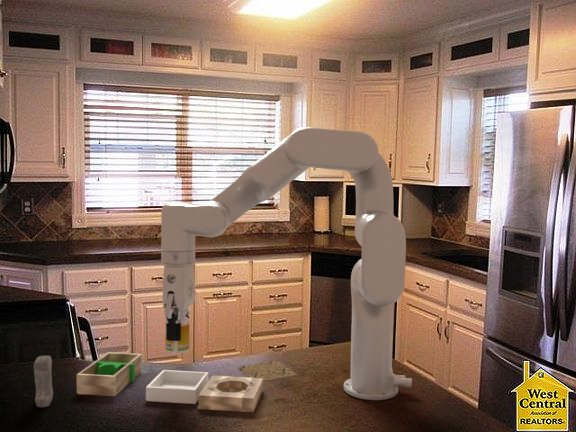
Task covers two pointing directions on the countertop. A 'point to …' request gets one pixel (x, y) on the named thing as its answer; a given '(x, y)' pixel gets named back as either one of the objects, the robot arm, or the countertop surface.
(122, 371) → the parts corral
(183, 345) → the supplement bottle
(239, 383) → the plate
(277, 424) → the countertop surface
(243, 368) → the speckled tile
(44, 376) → the stone
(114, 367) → the pipe clamp
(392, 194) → the robot arm
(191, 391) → the tray
